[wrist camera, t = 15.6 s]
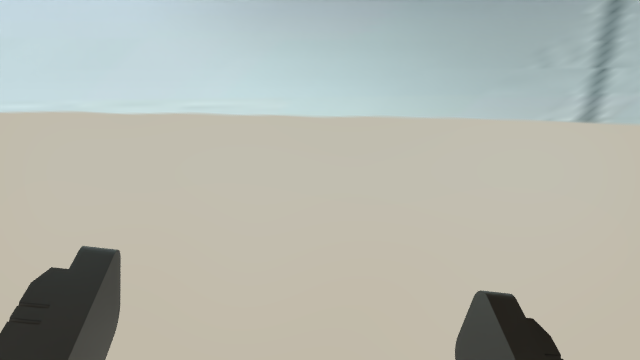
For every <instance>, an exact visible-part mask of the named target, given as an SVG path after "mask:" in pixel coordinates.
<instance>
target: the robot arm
mask: <svg viewBox="0 0 640 360" xmlns="http://www.w3.org/2000/svg"><path fill="white" fill-rule="evenodd" d="M119 311H120V251H119V250H114V249H104V248H96V247H87V246H82V247H81V248H80V250H79V251H78V253H77V255H76V257H75V259H74V261H73V263H72V264H71V266H70V268H69V269H62V268H52V267H51V268H50V269H49V270H47V271H46V272H45V273H43V274H42V275H41V276H39V277H38V278H37V279H36V280H34V281H33V282H31V284H30V285H29V287H28V289H27V290H26V292H25V294H24V295H23V297H22V298H21V300H20V302H19V306H17V307H16V309H15V310H14V312H13V313H12V315H11V317H10V320H9V322H7V323H6V325H5V327H4V328H3V330H2V331H1V333H0V360H105V359H106V356H107V353H108V351H109V348H110V345H111V342H112V340H113V337H114V334H115V331H116V327H117V323H118V318H119ZM455 359H456V360H563V359H561V355H560V353H559V351H558V349H557V347H556V345H555V343H554V342H553V340H552V338H551V336H550V335H549V334H548V333H547V332H546V331H545V330H544V329H543V328H542V327H541V326H540V325H539V324H538V323H537V322H536V321H535V320H534V319H531V318H526V317H525V315H524V313H523V312H522V310H521V308H520V306H519V304H518V302H517V300H516V298H515V297H514V296H513V295H512V294H506V293H498V292H489V291H478V292H477V293H476V294H475V296H474V298H473V300H472V303H471V305H470V308H469V310H468V313H467V315H466V318H465V320H464V323H463V325H462V327H461V330H460V333H459V335H458V338H457V341H456V348H455Z"/></svg>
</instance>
